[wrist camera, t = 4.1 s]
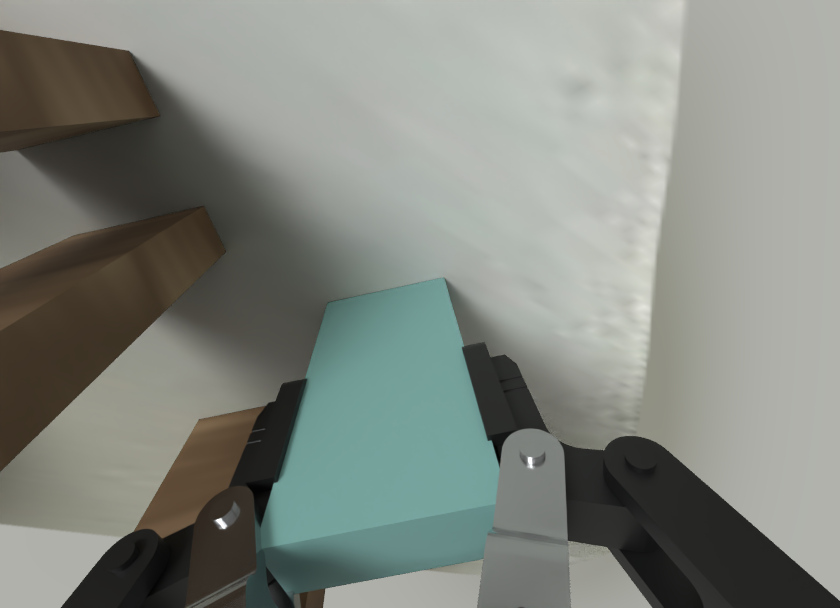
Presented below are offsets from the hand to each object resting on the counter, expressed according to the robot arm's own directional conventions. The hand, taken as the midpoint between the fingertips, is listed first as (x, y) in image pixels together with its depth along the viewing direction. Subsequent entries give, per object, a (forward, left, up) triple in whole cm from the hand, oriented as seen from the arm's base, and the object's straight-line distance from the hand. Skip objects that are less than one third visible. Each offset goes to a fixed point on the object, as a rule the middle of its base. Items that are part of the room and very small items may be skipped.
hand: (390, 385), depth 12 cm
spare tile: (0, 0, -5) cm, 5 cm away
